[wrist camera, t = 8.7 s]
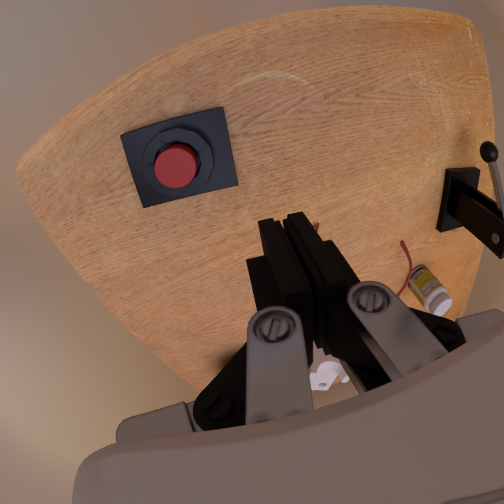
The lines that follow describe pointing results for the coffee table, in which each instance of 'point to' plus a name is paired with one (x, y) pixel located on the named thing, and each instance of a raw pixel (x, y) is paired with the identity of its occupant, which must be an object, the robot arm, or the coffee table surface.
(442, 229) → the bracket
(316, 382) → the bracket
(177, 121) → the control block
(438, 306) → the supplement bottle
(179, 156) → the button
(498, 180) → the lever
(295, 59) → the coffee table surface
